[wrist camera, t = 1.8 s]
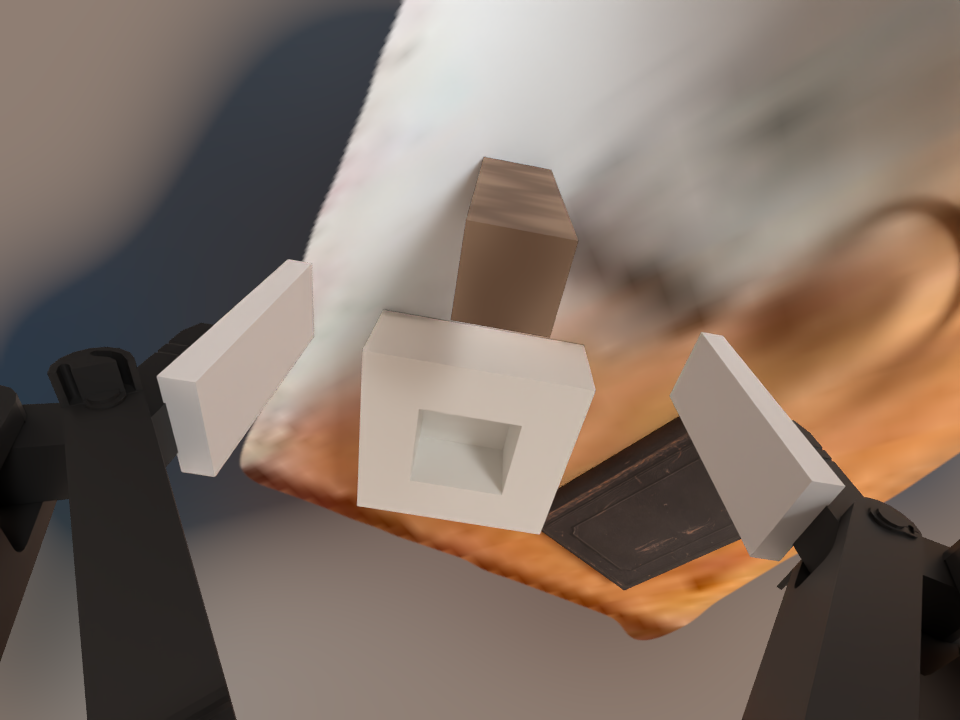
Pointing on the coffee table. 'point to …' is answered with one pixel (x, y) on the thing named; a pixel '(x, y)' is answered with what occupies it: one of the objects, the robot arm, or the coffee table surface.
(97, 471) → the robot arm
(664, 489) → the hardcover book
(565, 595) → the coffee table surface
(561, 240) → the walnut peg
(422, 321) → the grey well block
